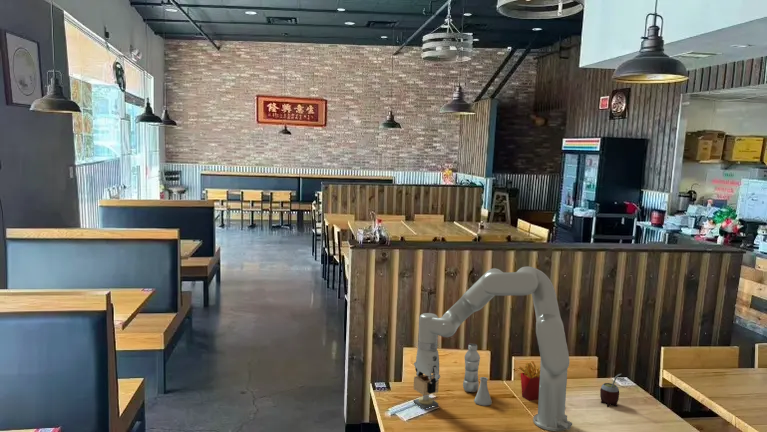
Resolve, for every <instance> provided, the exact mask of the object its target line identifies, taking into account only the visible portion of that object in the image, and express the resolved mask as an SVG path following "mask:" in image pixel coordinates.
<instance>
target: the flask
mask: <svg viewBox="0 0 767 432" xmlns="http://www.w3.org/2000/svg"><path fill="white" fill-rule="evenodd" d="M479 380H480V382H479V387H478V390H477V391H476V392H477V393H476V395H475V398H474V399H473V402H474V403H475V404H476V405H480V406H491V405H492V403H493V401H492V397H491V395H490V393H489V389H488V381H489V378H488V377H485V376H482V377H481V376H480V378H479Z"/></svg>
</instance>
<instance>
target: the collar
mask: <svg viewBox="0 0 767 432" xmlns="http://www.w3.org/2000/svg"><path fill="white" fill-rule="evenodd" d="M431 378H432V379H433V376H432V377H431ZM439 380H440V379H438V381H437V383H436V391H435V392H434V393H430V394H429V393H428V383H430V382H429V378H428V376H427V375H425V374H423V375H421V376H417V375H415V376H414V377H413V390H414V391H416V392H417V393H419V394H420V395H421V396H423V395H429V396H430V395H432V394H437V393H439V385H440V384H439V382H440V381H439Z"/></svg>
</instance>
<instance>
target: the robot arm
mask: <svg viewBox="0 0 767 432" xmlns="http://www.w3.org/2000/svg"><path fill="white" fill-rule="evenodd" d="M529 295H531V297H532V303H533V309H534V312H535V321H536V322H535V334H536V339H537V346H538V351H539V355H540V364H539V365H540V367H539V370H540V382H539V400H537V401H538V404H537V414H535V415H533V418H532V422H533V423H534V424H535V425H536V426H537V427H539V428H540V429H543V430H545V431H550V432H562V431H565V430H568V431H570V430H571V429H572V426H573V422H572V421H569V420H568V415H567V414H566V403H567V401H566V400H567V399H566V398H567V397H566V396H567V383H568V369H569V367H570V354H569V349H568V345H567V339H566V333H565V328H564V327H565V326H564V322H563V320H562V318H561V312H560V309H559V308H560V307H559V301H558V298H557V293H556V289H555V287H554V284H553V283H552V281H551V279H550V278H549V276H548V275H547V274H545V273H544V272H543V271H542V270H540V269H538V268H536V267H534V266H529V265H528V266H522V267H520V268H519V269H517V271H515V272H514V271H512V272H503V271H502V270H501V269H499V268H495V267H493V268H490V269H488V270H486V272H485V273H483V274H482V276H480V277H479V278H478V280H477V281H475V282H474V283H473V285H471V286H470V288H469V289H467V290H466V291H465V292H464V293H463V294H462V296H461V297H460V298H458V300H457V301H456V302H455V303H454V304H453V305H452V306H451V307H450V308H449V309H448V310H447V311H446V312H444V314H443V315H442V316H441V317H439V316H438V315H437V314H436V313H431V312H424V313H422V314H420V315H419V319H418V338H417V340H418V341H417V344H418V345H417V352H416V357H415V358H416V359H415V362H414V363H413V365H414V368H415V369H414V370H415V371H416V373H415V374H416V375H415V376H421V375H427V376H428V378H429V382H430V383H428V393H429V395H431V394H430V393H433V394H435V393H434V392H435V391H436V383H437V381H438V380H440V378H441V374H440V356H439V351H438V339H439V337H438V336H440V337H442V338H451V337H453V336H454V335H455V334H456V332H457V330H458V328H459V327H460V326H461V325H462V324H463V323H464V322H465V321H466V320H467V319H468V318H469V317H470V316H472V314H474V313H475V312H479V311H480V310H483V308H484V307H485V306H486V305H487V304H488V303H490V301H492V300H493V298H494V297H495V296H499V297H500V296H503V297H504V296H506V297H507V296H515V297H516V296H529ZM432 376H433V379H432V378H431V377H432Z"/></svg>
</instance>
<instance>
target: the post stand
mask: <svg viewBox="0 0 767 432" xmlns="http://www.w3.org/2000/svg"><path fill="white" fill-rule="evenodd" d="M412 401H413V402H414V403H415V404H414V403H413V404H414V405H416V404H417V405H418V406H417V405H416V406H417V407H419V406H420V407H421V408H420V407H419V408H420V409H422V408H423V409H425V410H427V409H426V408H429V407H432V406H437V407H439V403H438V402H437V401H435V400H434V399H433V397H431V396H430V394H429V395H421V396H420V397H419V398H416V399H413V400H412ZM423 409H422V410H423ZM429 409H430V408H429Z"/></svg>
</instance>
